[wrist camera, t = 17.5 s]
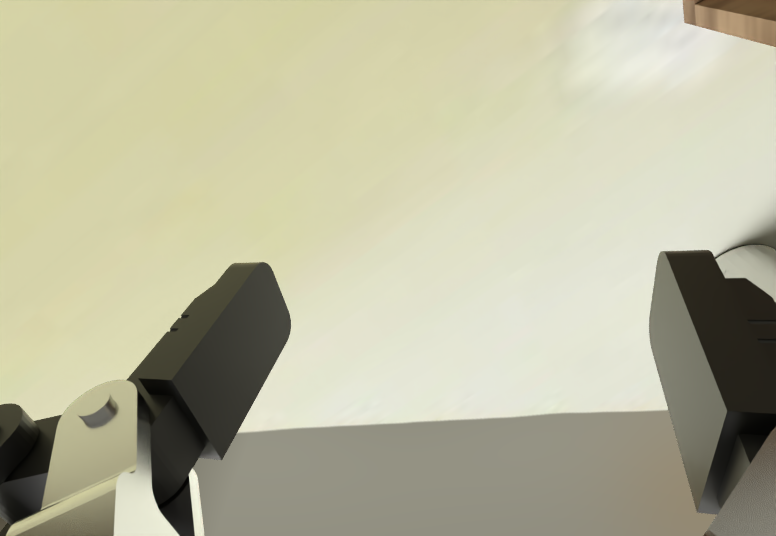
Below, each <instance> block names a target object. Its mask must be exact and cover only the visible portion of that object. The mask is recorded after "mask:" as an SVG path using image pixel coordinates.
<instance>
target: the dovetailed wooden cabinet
mask: <svg viewBox="0 0 776 536" xmlns="http://www.w3.org/2000/svg"><path fill="white" fill-rule="evenodd" d="M683 9H684V22H685V23H688V24H692V25H695V26H699V27H703V28H706V29H710V30H714V31H718V32H721V33H725V34H729V35H733V36H736V37H740V38H744V39H748V40H751V41H755V42H759V43H763V44H766V45H770V46H774V47H776V0H683Z"/></svg>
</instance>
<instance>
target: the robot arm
mask: <svg viewBox="0 0 776 536" xmlns="http://www.w3.org/2000/svg"><path fill="white" fill-rule="evenodd" d="M181 316H182V317H181V318H178V319H177V321H176V322H175V323H174V324H173V325H172V327H171V328H170V332H167V333H166V334H165V335H164V336H163V337H162V339H161V340H160V341H159V342H158V343H157V344H156V346H155V347H154V348H153V349H152V350H151V352H150V353H149V354H148V355H147V356H146V358H145V359H144V360H143V361H142V362H141V364H140V365H139V366H138V367H137V368H136V369H135V371H134V372H133V373H132V374H131V375H130V377H129V378H128V379H127V380H115V381H110V382H106V383H104V384H101V385H99V386H96V387H94V388H92V389H91V390H89V391H87V392H86V393H84V394H83V395H81V396H80V397H79V398H77V399H76V400H75V401H74V402H73V403H72V404H71V405H70V406H69V407H68V408H67V409H66V410H65V412H64V413H63V414H62V415H59V416H54V417H50V418H46V419H41V420H37V421H33V420H32V419H31V418H30V417H29V416H28V415H27V413H26V412H25V411H24V410H23V409H22V408H21V407H20V406H19V405H16V404H3V405H0V517H1V518H3V519H4V520H5V521H6V522H7V524H6V525H5V527H4V528H3V529H2V530H1V532H0V536H204V528H203V520H202V511H201V502H200V495H199V485H198V478H197V475H196V473H195V471H194V470H193V466H194V465H195V463H196V461H197V460H198V458H206V459H216V460H222V459H223V457H224V455H225V453H226V452H227V450H228V448H229V446H230V444H231V443H232V441H233V439H234V437H235V435H236V433H237V432H238V430H239V428H240V426H241V424H242V422H243V421H244V419H245V417H246V415H247V413H248V412H249V410H250V408H251V406H252V404H253V402H254V401H255V399H256V397H257V395H258V393H259V391H260V390H261V388H262V386H263V384H264V382H265V381H266V379H267V377H268V375H269V373H270V371H271V370H272V368H273V366H274V364H275V362H276V360H277V359H278V357H279V355H280V353H281V351H282V350H283V348H284V346H285V344H286V342H287V340H288V338H289V335H290V329H291V320H290V314H289V311H288V309H287V306H286V304H285V301H284V299H283V296H282V293H281V291H280V288H279V286H278V283H277V281H276V278H275V276H274V273H273V271H272V269H271V267H270V266H269V265H268V264H267V263H264V262H259V263H234V264H232V265H231V266H230V267H229V268H228V269H227V270H226V271H225V273H224V274H223V275H222V276H221V277H220V279H219V280H218V281H217V282H216V284H215V285H213V286H212V287H210V288H209V289H208V290H206V291H205V292H204V293H202V294H201V295H200V296H198V297H197V298H195V299H194V300H193V302H192V303H191V304H190V305H189V306H188V308H187V309H186V310H185V311H184V312H183V314H182V315H181ZM649 333H650V343H651V348H652V352H653V356H654V359H655V363H656V366H657V370H658V374H659V377H660V381H661V384H662V388H663V392H664V395H665V399H666V402H667V406H668V410H669V413H670V417H671V420H672V424H673V428H674V431H675V435H676V438H677V442H678V446H679V449H680V453H681V456H682V460H683V464H684V467H685V471H686V474H687V478H688V481H689V485H690V489H691V492H692V496H693V500H694V503H695V507H696V510H697V512H699V513H708V514H717V516H716V517H715V519H714V521H713V522H712V524H711V525H710V527H709V528H708V530H707V531H706V533H705V534H704V536H776V250H775V249H773V248H771V247H769V246H765V245H747V246H742V247H739V248H736V249H733V250H730V251H728V252H726V253H724V254H722V255H721V256H719V257H718V258H716V259H715V258H714V256H713V254H712V253H711V252H710V251H709V250H694V251H662V252H660V254H659V257H658V261H657V267H656V274H655V281H654V289H653V296H652V303H651V310H650V318H649Z"/></svg>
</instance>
